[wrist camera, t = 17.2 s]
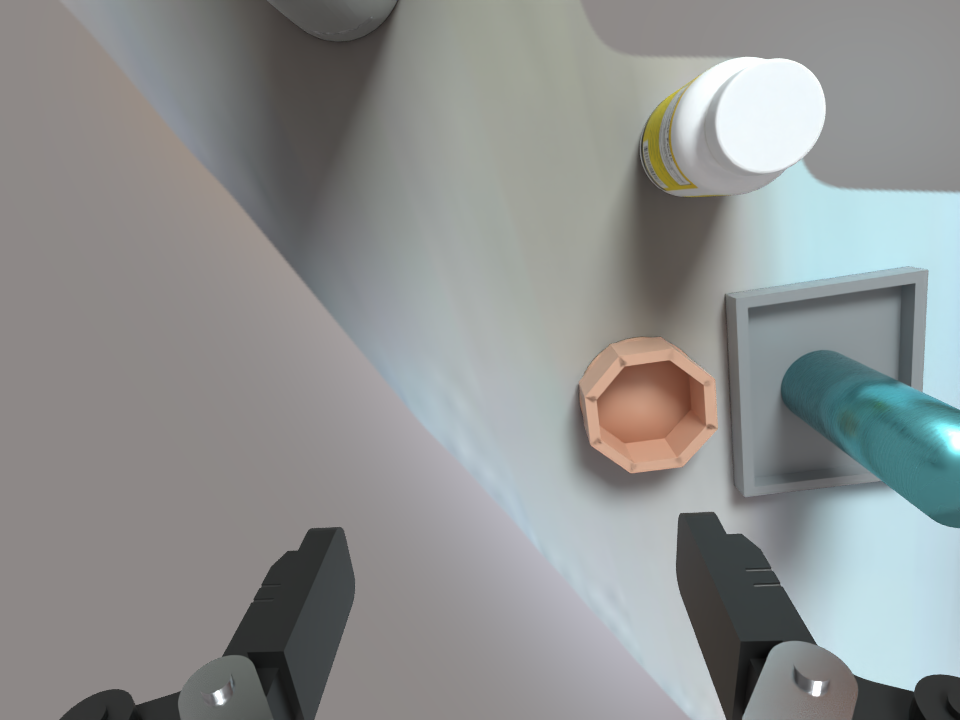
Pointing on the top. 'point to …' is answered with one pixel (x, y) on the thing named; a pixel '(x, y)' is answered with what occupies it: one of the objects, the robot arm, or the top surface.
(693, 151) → the supplement bottle
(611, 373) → the peach octagonal bowl
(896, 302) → the tray
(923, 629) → the top surface
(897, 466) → the bottle
